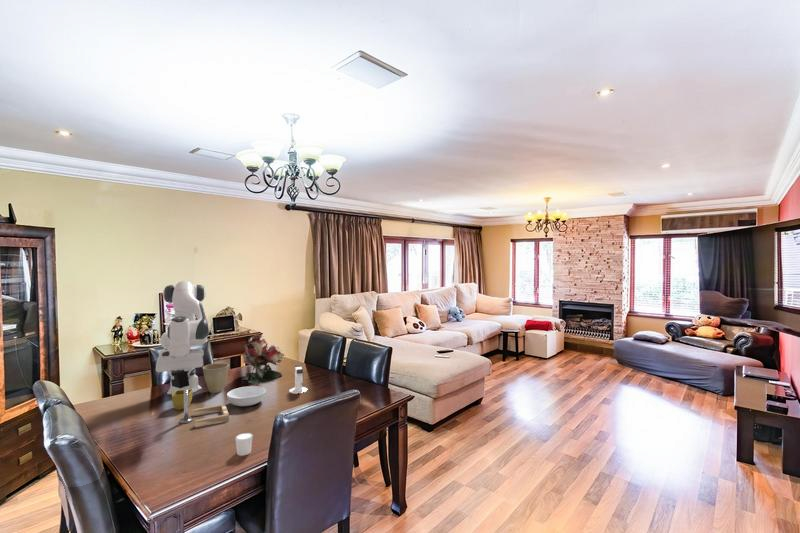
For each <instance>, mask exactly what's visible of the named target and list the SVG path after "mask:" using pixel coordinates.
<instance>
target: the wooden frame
mask: <svg viewBox="0 0 800 533" xmlns="http://www.w3.org/2000/svg"><path fill="white" fill-rule="evenodd" d="M219 412H220V413H222V414H220V415H214V416H211V417H210V416H209V417H205V418H200V419H199V418H198V419H195V420H194V427H195V428H200V427H205V426H210V425H211V426H212V425H216V424H220V423H226V422H229V420H230V414H229V412H228V408H227V406H226V405H225V404H224V403H223V404H222V403H221V404H216V405H210V406H206V407H200V408H193V409H192V413H193V414H192V416H193V417H197V416H204V415H207V414H213V413H214V414H215V413H219Z"/></svg>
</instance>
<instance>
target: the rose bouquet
mask: <svg viewBox="0 0 800 533" xmlns="http://www.w3.org/2000/svg"><path fill="white" fill-rule="evenodd" d="M247 341H248V343H245V344H244V346H243V347H244V350H245V351H244V353H243V354H242V358H243V359H242V360H243V361H242V363H243V364H247V365H250V366H252V372H246V373H245V376H244V377H243V378H241V380H242V381H243V380H246V381H248V383H249V384H252V385H259V384H261V383H265V382H269V381H271V380H273V379H277V378H279V377H281V376H283V375H282V372H280V371H278V370H272V367H271V366H270V364H272V365H275V366H280V363H281V362H283V357H284V356H285V354H284V353H283V352H282V351H283V350H282V349H280V347H279V346H277V345H276V344H272V345H268V344H269V343H268V342H267V340H266V339H265V338H264V336H263V335H262V334H254V335H253V336H250V339H248V340H247ZM269 363H270V364H269ZM262 366H264V367H263V368H262ZM254 370H255V372H254Z"/></svg>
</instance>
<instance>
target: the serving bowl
mask: <svg viewBox="0 0 800 533" xmlns="http://www.w3.org/2000/svg"><path fill="white" fill-rule="evenodd" d="M266 391H267V389H266V388H264V386H263V387H262V386H258V385H257V386H256V385H249V386H241V387H238V388H233V389H230V391H228V392H227V394H226V397H227V400H228V402H229V403H230V404H231V405H233V406H237V407H249V406H253V405H256V404H258V403H260V402H262V400H263V399H264V398H265V396H266V394H267V393H266Z"/></svg>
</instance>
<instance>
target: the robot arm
mask: <svg viewBox="0 0 800 533" xmlns="http://www.w3.org/2000/svg"><path fill="white" fill-rule="evenodd" d="M206 294H207V292H206V289H205V286H203V285H201V284H193V283H191V282H190V281H189V280H182V281H178V282H177V283H176V284H169V285H166V286H165V287H164V289H163V292H162V297H163V301H165V302H166V303H169V304H172V306H173V308H174V317H172V318H171V319H170V324H169V325H168V327H167V332H166V331H165V332H163V333H162V334H161V336H160V339H159V343H160V346H161V347H162V348H163V349H161V350H159V352H158V357H157V360H156V362H155V363H156V364H155V371H156V372H157V373H163V372H164V373H165V372H167V373H168V375H169V376H171V378H170V382H169V384H170V386H169V389H168V390H167V392H166V394H167V395H171V396H172V395H173V393H174V392H175V391H177V390H188V389H193V393H195V392H197V391H200V390H202V386H201V385H199V377H198V375H196V368H203V367H204V358H203V357H204V355H205V353H204V352H205V351H204V350H203V349H202V348H199V347H198V346H201V345H204V344H205V343H206V342H207V340H208V336H209V335H210V331H211V329H210V325H209V323H208V319H207V316H206V313H205V310H204V309H205V308H204V306H203V304H202V302H203V301H204V300H205V297H206ZM196 319H197V320H196ZM191 347H198V348H191ZM176 370H184V371H186V372H187V374H188V380H189V386H186V387H183V388H181V389H180V388H177V387H174V386H172V383H171V380H172V379H174V376H173V375H172V374H171V372H173V371H176Z"/></svg>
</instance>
